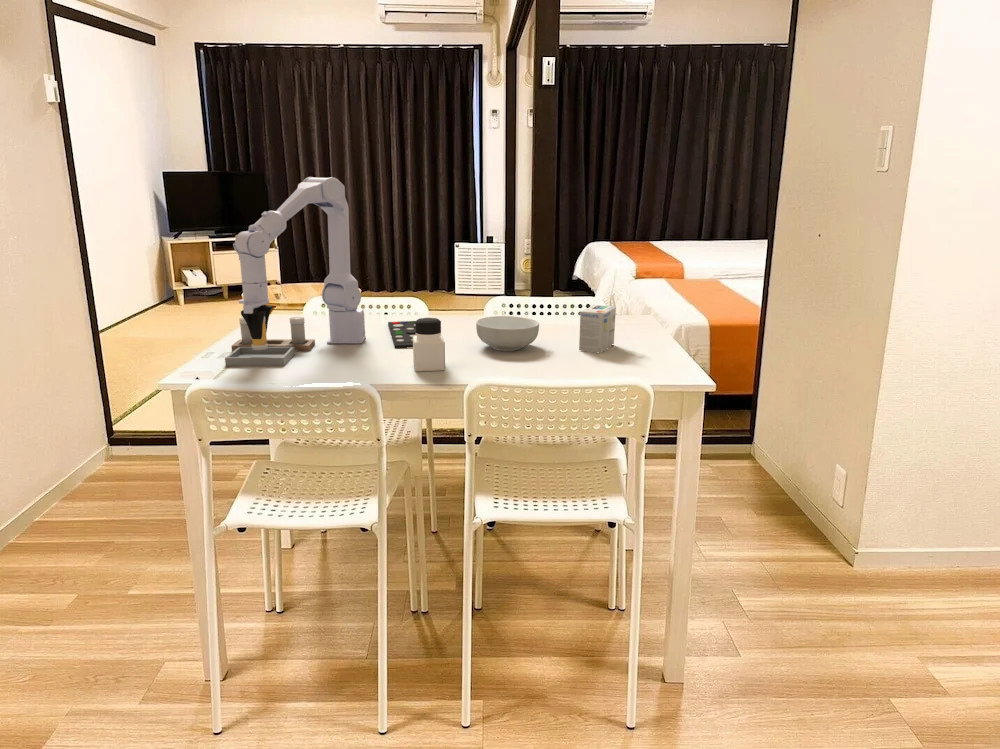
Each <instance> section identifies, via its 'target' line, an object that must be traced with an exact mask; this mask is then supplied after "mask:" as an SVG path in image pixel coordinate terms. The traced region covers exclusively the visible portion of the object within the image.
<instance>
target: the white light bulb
mask: <svg viewBox="0 0 1000 749" xmlns="http://www.w3.org/2000/svg"><path fill="white" fill-rule="evenodd" d="M238 321H239V325H240V326H239V328H240V335H241V337H240V338H241V339H242V344H252V337H251V334H250V331H249V328H248V325H247V323H246V321H245V319H244V318H243V317H240V318H239V320H238Z"/></svg>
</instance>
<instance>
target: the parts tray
mask: <svg viewBox="0 0 1000 749" xmlns="http://www.w3.org/2000/svg"><path fill="white" fill-rule="evenodd" d="M295 355H296V351H295V349H294V347H268V348H267V349H265V350H253V349H252V347H238V348H237V349H236V350H234V351H231V352H230V353H229V354H227V356H225V357H224V364H225V367H257V366H258V367H262V366H263V367H268V366H269V367H271V366H272V367H280V366H281V367H284V366H286V365H287V364H288V363H289V362H290V360H291V359H292V358H294V356H295Z"/></svg>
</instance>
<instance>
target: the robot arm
mask: <svg viewBox="0 0 1000 749" xmlns="http://www.w3.org/2000/svg"><path fill="white" fill-rule="evenodd" d="M345 187H346V186H345V185H344V184H343V183H342V182H341V181H340V180H339V179H338V178H337V177H335V176H334V177H333V176H331V177H313V176H308V177H306V178H304V179H303V180H302V182H299V183H298V184H297V188H296V189H295V190H294V191H293V192H292V194H290V195H289V196H288V198H287V199H285V201H284V202H283V203H282V204H281V205H280V206H279V207H278V208H277V209H276V210H268V211H263V212H262V213H261V217H260V218H259V219H258V220H257V221H256V222H255V223H254V224H250V225H249V226H248V230H246V231H245V230H244V231H240V232H239V233H238V234H237V236H236V237H235V240H234V243H232V246H233V249H234V251H235V253H237V254H238V261H239V264H240V274H241V275H240V276H241V284H242V285H241V286H242V296H243V298H242V299H239V300H238V303H239V304H242V307H243V309H242V310H241V311H240V315H241V318H244V319H245V321H246V323H247V325H248V328H249V331H250V334H251V337H252V339H261V338H262V329H263V320H264V316H265V320H266V321H265V325H266V333H267V331H268V324H269V323H268V322H269V318H270V315H271V313H272V310H273V305H272V304H271V305H270V297H269V292H268V291H269V290H268V280H267V265H266V254H268V253H269V250H270V245H271V244H272V242H273V241H275V240H276V239H277V238H278V237H279V236H280V235H281V234H282V233H283V232H285V230H286V229H287V221H289V220H290V219H291V218H292V217H294V216H295V215H296V214H297V213H298V212H299V211H301V210H302V209H303V208H305V207H306V206H307V205H309V204H314V206H315V205H316V206H317V207H319V208H320V209H321V210H323V212H325V214H326V216H327V234H328V235H327V236H328V238H327V239H328V257H329V258H328V261H329V262H328V263H329V264H328V265H329V273H328V275H327V276H326V277H325V278H324V280H323V289H322V292H321V297H322V298H321V299H322V301H323V303H324V304H325V305H326V308H327V309H328V320H329V322H328V324H329V336H330V337H329V338H328V340H326V344H363V342H364V340H365V339H366V326H365V325H366V322H365V313H364V309H361V308H358V307H359V305H360V304H361V300H362V293H361V291H360V289H359V281H358V280H357V279H356V278H355V277H354V276H353V275H352V273H351V248H350V244H351V243H350V214H349V213H350V210H349V204H348V201H347V198H346V188H345Z"/></svg>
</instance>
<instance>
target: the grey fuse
mask: <svg viewBox="0 0 1000 749" xmlns="http://www.w3.org/2000/svg"><path fill="white" fill-rule="evenodd" d="M289 324H290V334H291V339H292V344H306V342H305V339H306V332H305V317H303V316H302V317H301V316H294V317H290V318H289Z"/></svg>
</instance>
